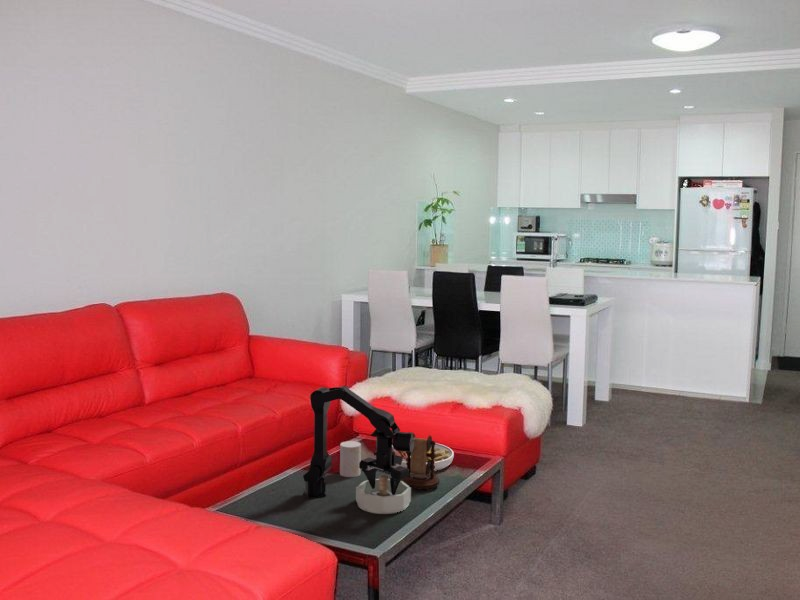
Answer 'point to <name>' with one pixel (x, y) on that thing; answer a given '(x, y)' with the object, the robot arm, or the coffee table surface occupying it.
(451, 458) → the bowl
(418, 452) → the scroll
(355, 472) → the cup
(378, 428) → the robot arm
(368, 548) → the coffee table surface
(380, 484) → the beige rounded cylinder
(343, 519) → the coffee table surface
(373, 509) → the octagonal white bin
